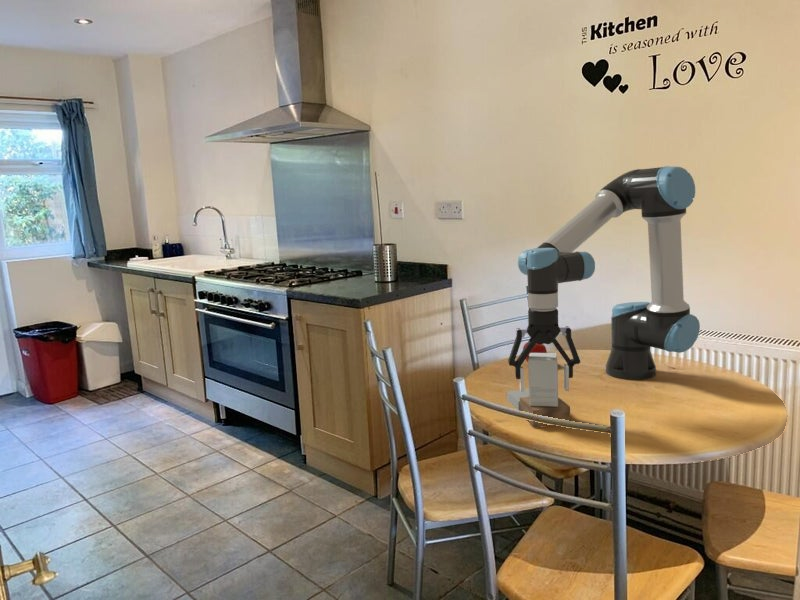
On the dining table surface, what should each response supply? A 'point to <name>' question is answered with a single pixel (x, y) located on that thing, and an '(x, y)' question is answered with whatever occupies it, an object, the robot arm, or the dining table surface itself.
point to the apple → (536, 349)
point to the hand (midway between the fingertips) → (544, 390)
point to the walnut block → (545, 410)
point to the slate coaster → (516, 397)
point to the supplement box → (543, 379)
